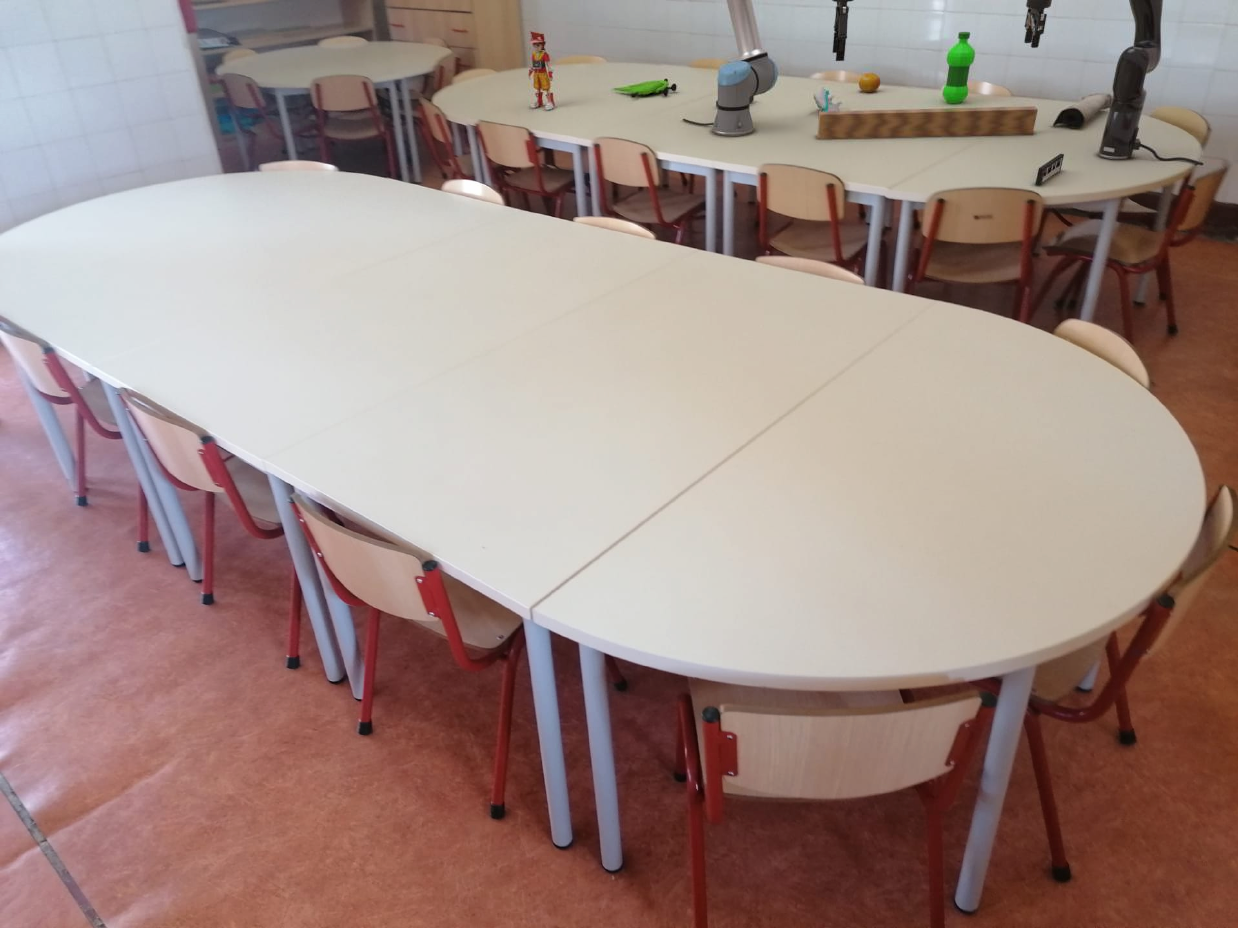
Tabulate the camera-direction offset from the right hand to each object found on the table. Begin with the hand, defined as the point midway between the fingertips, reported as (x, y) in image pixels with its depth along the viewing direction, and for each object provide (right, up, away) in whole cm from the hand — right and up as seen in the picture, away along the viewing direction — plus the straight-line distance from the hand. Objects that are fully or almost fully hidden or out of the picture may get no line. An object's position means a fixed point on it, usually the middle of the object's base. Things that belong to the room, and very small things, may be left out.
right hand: (1030, 45), depth 300 cm
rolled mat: (+31, -15, +26) cm, 43 cm away
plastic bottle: (-5, +3, +55) cm, 55 cm away
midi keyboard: (-6, -53, -25) cm, 58 cm away
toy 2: (-128, +25, +97) cm, 163 cm away
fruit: (-33, +16, +77) cm, 85 cm away
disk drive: (-90, +8, +70) cm, 114 cm away
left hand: (-63, 0, +9) cm, 63 cm away
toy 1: (-171, +12, +83) cm, 190 cm away
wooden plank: (-29, -23, +20) cm, 42 cm away
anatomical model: (-56, -3, +51) cm, 76 cm away
